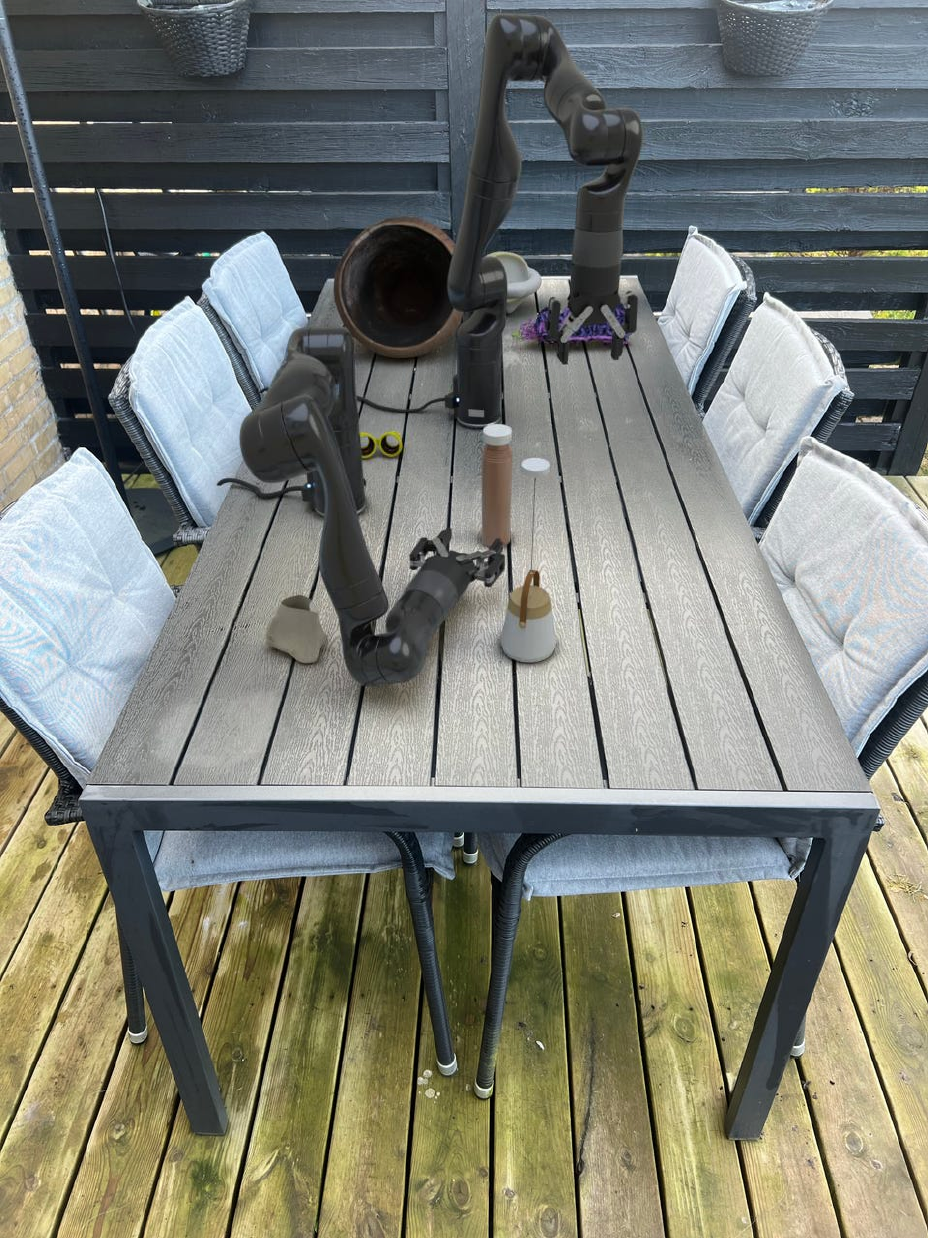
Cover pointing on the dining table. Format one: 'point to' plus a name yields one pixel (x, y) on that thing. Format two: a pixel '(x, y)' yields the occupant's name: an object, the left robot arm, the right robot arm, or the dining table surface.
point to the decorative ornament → (581, 334)
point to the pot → (397, 288)
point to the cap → (497, 434)
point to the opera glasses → (381, 445)
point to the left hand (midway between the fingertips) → (474, 537)
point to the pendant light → (529, 603)
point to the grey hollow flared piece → (297, 629)
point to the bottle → (496, 493)
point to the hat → (518, 279)
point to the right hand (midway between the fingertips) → (589, 360)
